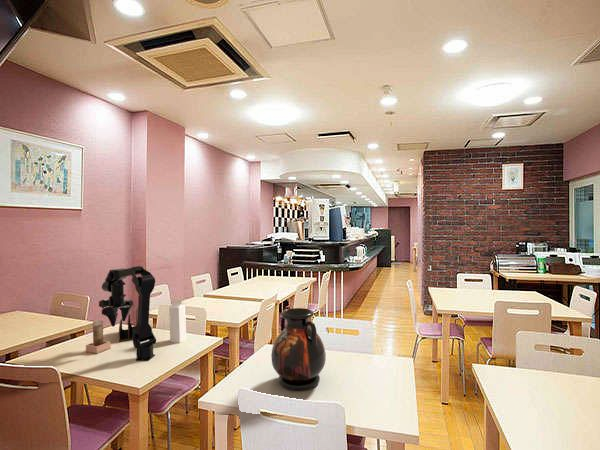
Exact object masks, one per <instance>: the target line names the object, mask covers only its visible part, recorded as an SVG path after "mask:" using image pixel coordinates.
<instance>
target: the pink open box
mask: <svg viewBox="0 0 600 450" xmlns="http://www.w3.org/2000/svg"><path fill="white" fill-rule="evenodd" d="M110 349H111V341H107V340H103V344H102V345H99V346H93V342H91V343H89V344H86V345H85V352H86V353H90V354H95V355H97V354H99V353H103V352H104V351H108V350H110Z"/></svg>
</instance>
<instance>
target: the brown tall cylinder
mask: <svg viewBox="0 0 600 450" xmlns="http://www.w3.org/2000/svg"><path fill="white" fill-rule="evenodd" d="M103 341H104V321H103V320H95V321H93V322H92V343H93V346H99V345H102V344H103Z"/></svg>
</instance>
